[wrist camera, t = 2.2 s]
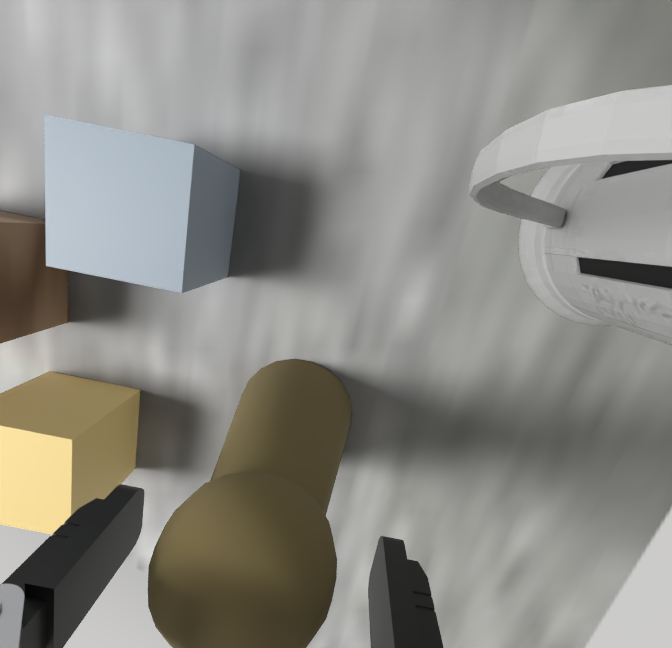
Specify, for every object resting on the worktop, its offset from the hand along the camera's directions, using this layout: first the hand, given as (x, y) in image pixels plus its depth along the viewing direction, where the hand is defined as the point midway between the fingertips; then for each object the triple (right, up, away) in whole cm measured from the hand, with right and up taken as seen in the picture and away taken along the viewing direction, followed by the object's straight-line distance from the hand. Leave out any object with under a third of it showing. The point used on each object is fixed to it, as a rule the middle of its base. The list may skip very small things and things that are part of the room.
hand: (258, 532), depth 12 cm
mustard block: (-11, +2, +8) cm, 14 cm away
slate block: (-5, +12, +5) cm, 14 cm away
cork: (0, +2, +8) cm, 8 cm away
